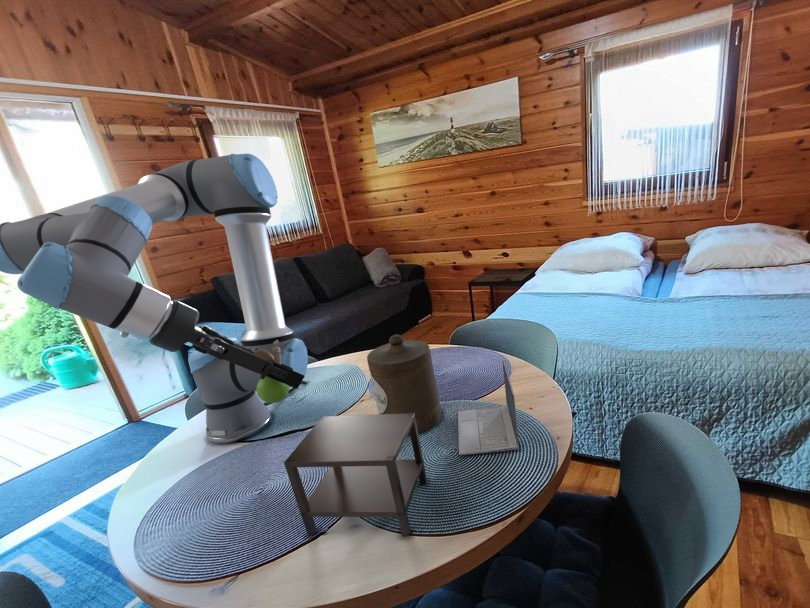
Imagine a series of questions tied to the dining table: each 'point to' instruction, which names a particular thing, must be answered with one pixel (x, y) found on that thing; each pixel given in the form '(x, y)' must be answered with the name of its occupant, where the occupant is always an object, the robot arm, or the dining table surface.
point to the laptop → (489, 426)
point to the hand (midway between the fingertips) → (294, 378)
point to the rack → (358, 468)
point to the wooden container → (405, 381)
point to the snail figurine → (269, 387)
